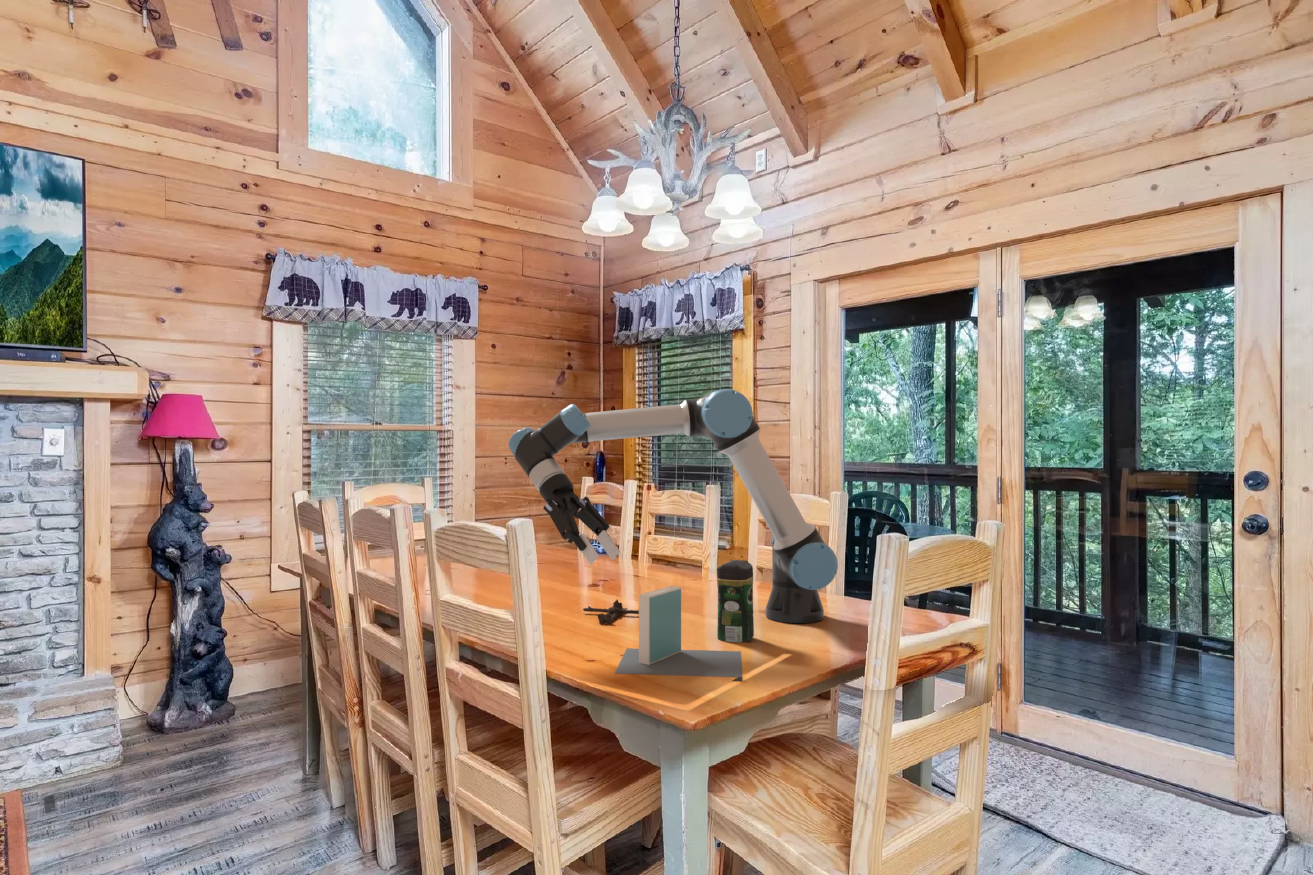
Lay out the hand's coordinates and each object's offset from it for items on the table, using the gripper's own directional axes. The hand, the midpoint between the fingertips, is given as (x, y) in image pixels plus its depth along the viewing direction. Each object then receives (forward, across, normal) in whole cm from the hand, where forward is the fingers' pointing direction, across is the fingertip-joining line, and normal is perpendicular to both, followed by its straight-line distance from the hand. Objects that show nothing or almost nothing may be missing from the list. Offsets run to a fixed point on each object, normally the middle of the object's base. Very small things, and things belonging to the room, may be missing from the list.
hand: (605, 557), depth 167 cm
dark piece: (+2, -25, -28) cm, 37 cm away
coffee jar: (+29, -24, -1) cm, 37 cm away
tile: (+24, 0, -3) cm, 25 cm away
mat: (+29, 0, 0) cm, 29 cm away
